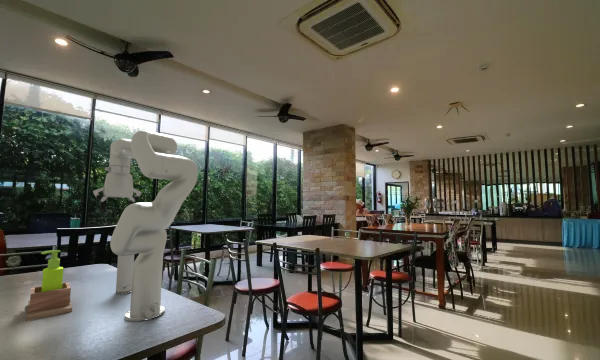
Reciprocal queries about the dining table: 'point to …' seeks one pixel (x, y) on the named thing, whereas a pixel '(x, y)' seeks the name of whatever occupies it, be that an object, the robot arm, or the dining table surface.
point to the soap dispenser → (52, 273)
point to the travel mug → (124, 273)
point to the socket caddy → (49, 302)
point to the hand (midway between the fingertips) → (117, 211)
